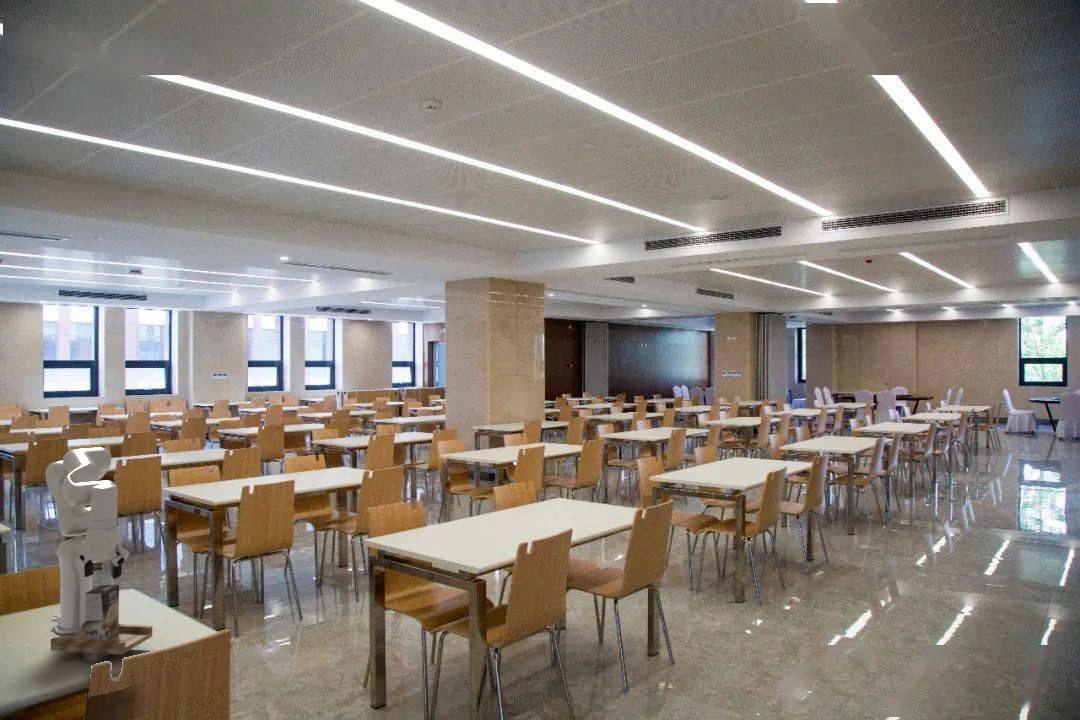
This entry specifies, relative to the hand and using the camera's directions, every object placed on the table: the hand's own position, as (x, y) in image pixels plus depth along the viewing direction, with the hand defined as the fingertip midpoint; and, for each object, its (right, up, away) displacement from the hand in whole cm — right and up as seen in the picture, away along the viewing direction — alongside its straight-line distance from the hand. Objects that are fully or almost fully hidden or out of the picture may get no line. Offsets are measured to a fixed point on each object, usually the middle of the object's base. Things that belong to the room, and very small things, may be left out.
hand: (102, 576), depth 240 cm
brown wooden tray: (0, -25, 0) cm, 25 cm away
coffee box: (0, -20, 0) cm, 20 cm away
